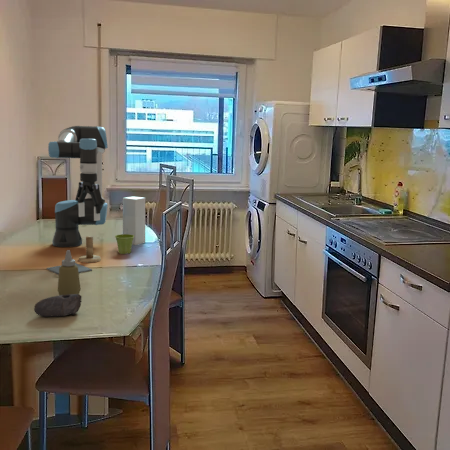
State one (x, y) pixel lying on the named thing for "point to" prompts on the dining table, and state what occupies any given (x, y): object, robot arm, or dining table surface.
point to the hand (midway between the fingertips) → (89, 218)
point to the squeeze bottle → (68, 276)
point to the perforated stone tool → (58, 305)
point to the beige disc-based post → (89, 252)
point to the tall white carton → (134, 218)
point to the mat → (80, 267)
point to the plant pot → (124, 243)
